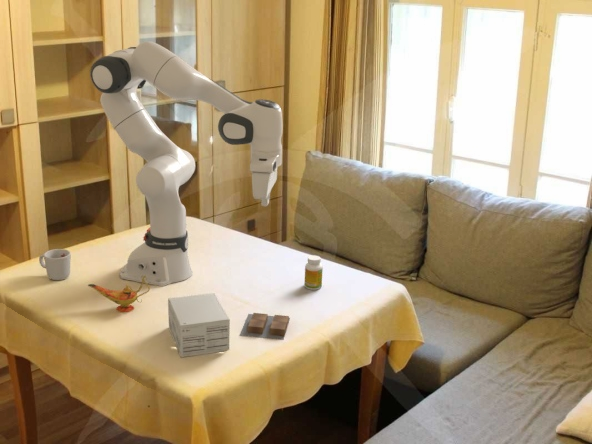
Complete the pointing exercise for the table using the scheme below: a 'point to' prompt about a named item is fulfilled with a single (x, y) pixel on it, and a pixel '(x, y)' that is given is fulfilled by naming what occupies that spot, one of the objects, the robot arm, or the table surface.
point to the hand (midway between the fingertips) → (265, 204)
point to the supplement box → (198, 324)
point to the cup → (56, 263)
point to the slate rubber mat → (265, 334)
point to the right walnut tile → (279, 325)
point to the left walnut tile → (257, 323)
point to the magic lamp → (121, 296)
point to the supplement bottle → (313, 273)
